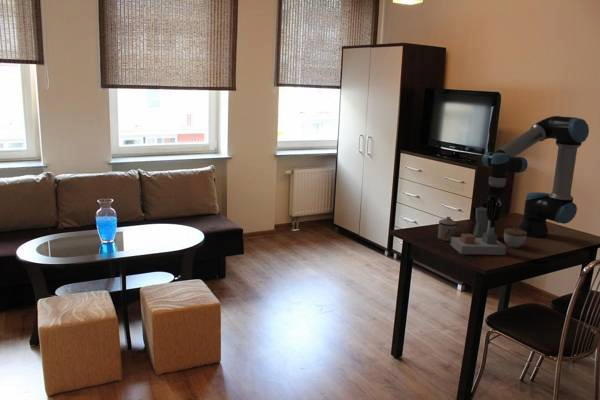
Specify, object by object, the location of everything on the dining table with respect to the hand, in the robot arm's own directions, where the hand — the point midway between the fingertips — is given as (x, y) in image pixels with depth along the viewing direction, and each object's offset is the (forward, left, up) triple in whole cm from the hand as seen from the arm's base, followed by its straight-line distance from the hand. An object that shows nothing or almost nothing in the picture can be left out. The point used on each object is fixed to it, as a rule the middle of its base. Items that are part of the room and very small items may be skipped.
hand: (490, 233), depth 256 cm
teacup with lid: (+13, -18, -9) cm, 24 cm away
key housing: (+5, 0, -9) cm, 10 cm away
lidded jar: (-17, -7, -9) cm, 20 cm away
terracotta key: (+11, 0, -6) cm, 12 cm away
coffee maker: (-7, -25, -9) cm, 27 cm away
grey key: (0, 0, -5) cm, 5 cm away
